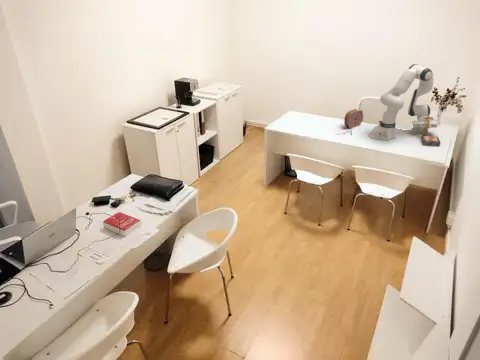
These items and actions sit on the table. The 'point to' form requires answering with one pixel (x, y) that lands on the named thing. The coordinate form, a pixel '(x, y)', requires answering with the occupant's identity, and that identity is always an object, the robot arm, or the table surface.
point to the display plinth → (430, 141)
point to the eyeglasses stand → (426, 125)
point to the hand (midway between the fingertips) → (426, 127)
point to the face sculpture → (353, 118)
